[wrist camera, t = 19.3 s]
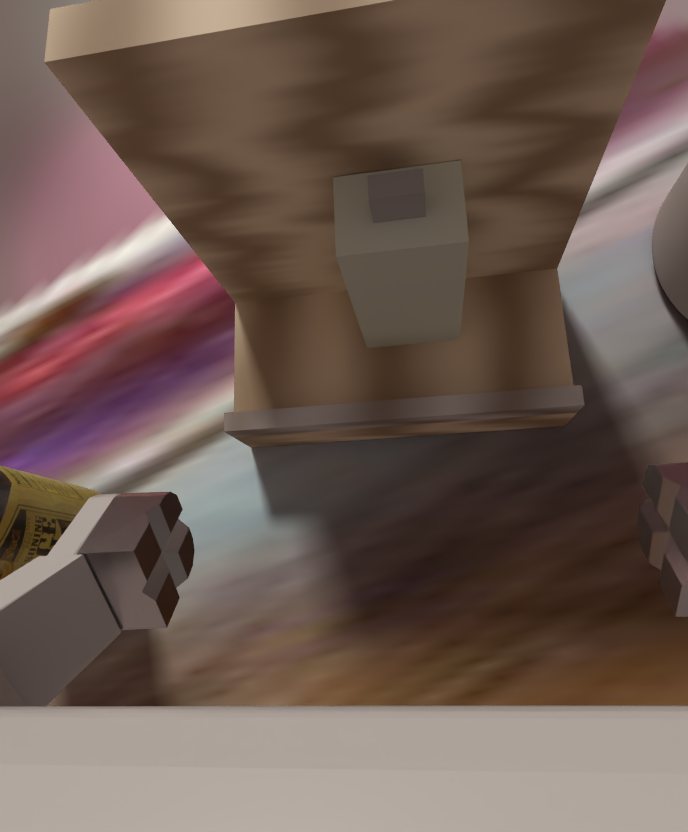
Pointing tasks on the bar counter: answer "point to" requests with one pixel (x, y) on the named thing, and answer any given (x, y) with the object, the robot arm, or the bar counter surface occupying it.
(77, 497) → the sauce bottle
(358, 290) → the beige block
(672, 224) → the cylinder vase
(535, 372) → the back board shelf
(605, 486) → the bar counter surface
